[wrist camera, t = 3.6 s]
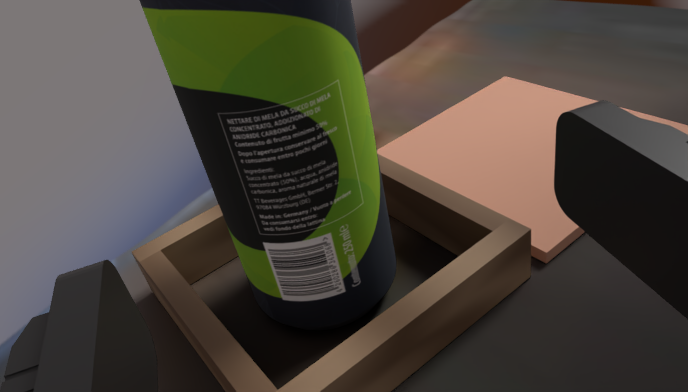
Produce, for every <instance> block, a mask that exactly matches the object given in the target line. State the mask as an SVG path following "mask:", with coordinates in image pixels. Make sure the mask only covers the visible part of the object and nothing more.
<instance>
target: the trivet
mask: <svg viewBox="0 0 688 392" xmlns="http://www.w3.org/2000/svg"><path fill="white" fill-rule="evenodd" d="M595 102H598V101H595V100H591V99H588V98H584V97H580V96H577V95H573V94H569V93H565V92H562V91H558V90H554V89H551V88H547V87H543V86H539V85H536V84H532V83H528V82H525V81H521V80H517V79H514V78H510V77H506V76H505V77H503V78H501V79H499V80H498V81H496V82H494V83H493V84H491V85H489V86H487V87H486V88H484V89H482V90H480V91H479V92H477V93H475V94H474V95H472V96H470V97H468V98H467V99H465V100H463V101H461V102H460V103H458V104H456V105H454V106H453V107H451V108H449V109H448V110H446V111H444V112H442V113H441V114H439V115H437V116H435V117H434V118H432V119H430V120H428V121H427V122H425V123H423V124H422V125H420V126H418V127H416V128H415V129H413V130H411V131H409V132H408V133H406V134H404V135H402V136H401V137H399V138H397V139H396V140H394V141H392V142H390V143H389V144H387V145H385V146H383V147H382V148H380V149H378V150H377V154H379V155H381V156H383V157H385V158H387V159H389V160H392V161H394V162H396V163H398V164H400V165H402V166H404V167H406V168H408V169H410V170H412V171H414V172H416V173H418V174H420V175H422V176H424V177H426V178H428V179H430V180H432V181H434V182H436V183H438V184H440V185H443V186H445V187H447V188H449V189H451V190H453V191H455V192H457V193H459V194H461V195H463V196H465V197H467V198H469V199H471V200H473V201H475V202H477V203H479V204H481V205H483V206H485V207H487V208H489V209H492V210H494V211H496V212H498V213H500V214H502V215H504V216H506V217H508V218H510V219H512V220H514V221H516V222H518V223H520V224H522V225H524V226H526V227H528V228H530V229H531V256H533V257H535V258H537V259H539V260H541V261H542V262H544V263H546V264H547V263H548V262H549V261H550V260H551V259H553V258H554V257H555V256H556V255H557V254H559V253H560V252H561V251H562V250H564V249H565V248H566V247H567V246H568V245H570V244H571V243H572V242H573V241H574V240H576V239H577V238H578V237H579V236H581V235H582V234H583V233H584V232H585V231H584V230H582V229H581V228H580V227H579V226H578V225H577V224H575V223H574V222H573V221H572V220H571V219H569V218H568V217H567V216H566V215H565V213H564V212H563V211H562V209H561V207H560V206H559V204H558V201H557V199H556V195H555V191H554V169H555V142H556V124H557V120H558V118H559V116H560V115H561V114H562V113H564V112H567V111H570V110H573V109H576V108H579V107H582V106H585V105H589V104H592V103H595ZM620 108H621V107H620ZM622 109H624V110H626V111H628V112H630V113H631V114H633V115H635V116H637V117H639V118H643V119H646V120H650V121H654V122H658V123H662V124H666V125H670V126H672V127H674V128H676V129H678V130H680V131H682V132H684V133H686V134H688V125H684V124H680V123H677V122H673V121H669V120H666V119H662V118H658V117H654V116H651V115H647V114H643V113H640V112H636V111H632V110H629V109H625V108H622Z"/></svg>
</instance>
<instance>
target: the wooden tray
mask: <svg viewBox="0 0 688 392" xmlns="http://www.w3.org/2000/svg"><path fill="white" fill-rule="evenodd" d="M378 159H379V165H380V171H381V177H382V182H383V188H384V194H385V199H386V205H387V211H388V214H389V215H390V216H392V217H394V218H395V219H397V220H399V221H400V222H402V223H404V224H405V225H407V226H409V227H410V228H412V229H414V230H415V231H417V232H419V233H420V234H422V235H424V236H426V237H427V238H429V239H431V240H432V241H434V242H436V243H437V244H439V245H441V246H442V247H444V248H446V249H447V250H449V251H451V252H452V253H454V254H456V255H457V256H459V257H457V258H456V259H455V260H453V261H452V262H451V263H449V264H448V265H446V266H445V267H444V268H442V269H441V270H440V271H438V272H437V273H436V274H434V275H433V276H432V277H430V278H429V279H428V280H426V281H425V282H423V283H422V284H421V285H419V286H418V287H417V288H415V289H414V290H413V291H411V292H410V293H409V294H407V295H406V296H405V297H403V298H402V299H400V300H399V301H398V302H396V303H395V304H394V305H392V306H391V307H390V308H388V309H387V310H386V311H384V312H383V313H382V314H380V315H379V316H377V317H376V318H375V319H373V320H372V321H371V322H369V323H368V324H367V325H365V326H364V327H363V328H361V329H360V330H359V331H357V332H356V333H354V334H353V335H352V336H350V337H349V338H348V339H346V340H345V341H344V342H342V343H341V344H340V345H338V346H337V347H336V348H334V349H333V350H331V351H330V352H329V353H327V354H326V355H325V356H323V357H322V358H321V359H319V360H318V361H317V362H315V363H314V364H313V365H311V366H310V367H308V368H307V369H306V370H304V371H303V372H302V373H300V374H299V375H298V376H296V377H295V378H294V379H292V380H291V381H290V382H288V383H287V384H285V385H284V386H283V387H281V388H280V389H279V390H277V388H276V387H275V386H274V385H273V384H272V382H271V381H270V380H269V379H268V378H267V377H266V375H265V374H264V373H263V372H262V371H261V369H260V368H259V367H258V366H257V365H256V363H255V362H254V361H253V360H252V359H251V358H250V356H249V355H248V354H247V353H246V352H245V350H244V349H243V348H242V347H241V346H240V344H239V343H238V342H237V341H236V340H235V338H234V337H233V336H232V335H231V334H230V333H229V331H228V330H227V329H226V328H225V327H224V325H223V324H222V323H221V322H220V321H219V319H218V318H217V317H216V316H215V315H214V313H213V312H212V311H211V310H210V309H209V308H208V306H207V305H206V304H205V303H204V302H203V300H202V299H201V298H200V297H199V296H198V294H197V293H196V292H195V291H194V290H193V288H192V287H191V286H190V284H192V283H194V282H195V281H197V280H199V279H200V278H202V277H204V276H205V275H207V274H209V273H210V272H212V271H214V270H215V269H217V268H219V267H220V266H222V265H224V264H225V263H227V262H229V261H230V260H232V259H234V258H235V257H237V256H239V255H238V253H237V250H236V248H235V245H234V242H233V240H232V237H231V235H230V232H229V230H228V227H227V224H226V222H225V219H224V217H223V214H222V211H221V209H220V206H219V204H218V205H216V206H215V207H213V208H211V209H209V210H207V211H205V212H204V213H202V214H200V215H198V216H196V217H194V218H193V219H191V220H189V221H187V222H185V223H183V224H182V225H180V226H178V227H176V228H174V229H172V230H171V231H169V232H167V233H165V234H163V235H161V236H160V237H158V238H156V239H154V240H152V241H150V242H149V243H147V244H145V245H143V246H141V247H139V248H138V249H136V250H134V251H132V254H133V256H134V258H135V259H136V261H137V263H138V265H139V267H140V269H141V271H142V273H143V275H144V276H145V278H146V280H147V282H148V284H149V286H150V288H151V290H152V291H153V293H154V294H155V296H156V297H157V298H158V300H159V301H160V302H161V304H162V305H163V307H164V308H165V309H166V311H167V312H168V313H169V315H170V316H171V318H172V319H173V320H174V322H175V323H176V324H177V326H178V327H179V328H180V330H181V331H182V333H183V334H184V335H185V337H186V338H187V339H188V341H189V342H190V344H191V345H192V346H193V348H194V349H195V350H196V352H197V353H198V355H199V356H200V357H201V359H202V360H203V361H204V363H205V364H206V365H207V367H208V368H209V370H210V371H211V372H212V374H213V375H214V376H215V378H216V379H217V381H218V382H219V383H220V385H221V386H222V387H223V389H224V390H225V391H226V392H391V391H392V390H393V389H395V388H396V387H397V386H398V385H400V384H401V383H402V382H403V381H404V380H406V379H407V378H408V377H409V376H410V375H412V374H413V373H414V372H415V371H417V370H418V369H419V368H420V367H421V366H423V365H424V364H425V363H426V362H427V361H429V360H430V359H431V358H432V357H434V356H435V355H436V354H437V353H438V352H440V351H441V350H442V349H443V348H444V347H446V346H447V345H448V344H449V343H451V342H452V341H453V340H454V339H455V338H457V337H458V336H459V335H460V334H461V333H463V332H464V331H465V330H466V329H468V328H469V327H470V326H471V325H472V324H474V323H475V322H476V321H477V320H478V319H480V318H481V317H482V316H483V315H485V314H486V313H487V312H488V311H489V310H491V309H492V308H493V307H494V306H496V305H497V304H498V303H499V302H500V301H502V300H503V299H504V298H505V297H506V296H508V295H509V294H510V293H511V292H513V291H514V290H515V289H516V288H517V287H519V286H520V285H521V284H522V283H523V282H525V281H526V280H527V279H528V278H530V277H531V229H530V228H528V227H526V226H524V225H522V224H520V223H518V222H516V221H514V220H512V219H510V218H508V217H506V216H504V215H502V214H500V213H498V212H496V211H494V210H492V209H489V208H487V207H485V206H483V205H481V204H479V203H477V202H475V201H473V200H471V199H469V198H467V197H465V196H463V195H461V194H459V193H457V192H455V191H453V190H451V189H449V188H447V187H445V186H443V185H440V184H438V183H436V182H434V181H432V180H430V179H428V178H426V177H424V176H422V175H420V174H418V173H416V172H414V171H412V170H410V169H408V168H406V167H404V166H402V165H400V164H398V163H396V162H394V161H392V160H389V159H387V158H385V157H383V156H381V155H379V154H378Z"/></svg>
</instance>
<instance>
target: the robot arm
mask: <svg viewBox="0 0 688 392" xmlns="http://www.w3.org/2000/svg"><path fill="white" fill-rule="evenodd" d="M554 191H555V195H556V199H557V201H558V204H559V206H560V207H561V209H562V211H563V212H564V213H565V215H566V216H567V217H568V218H569V219H571V220H572V221H573V222H574V223H575V224H577V225H578V226H579V227H580V228H581V229H582V230H584V231H585V232H586V233H587V234H588V235H589V236H591V237H592V238H593V239H594V240H595V241H596V242H598V243H599V244H600V245H601V246H602V247H604V248H605V249H606V250H607V251H608V252H609V253H611V254H612V255H613V256H614V257H615V258H616V259H618V260H619V261H620V262H621V263H622V264H623V265H625V266H626V267H627V268H628V269H629V270H631V271H632V272H633V273H634V274H635V275H636V276H638V277H639V278H640V279H641V280H642V281H643V282H645V283H646V284H647V285H648V286H649V287H651V288H652V289H653V290H654V291H655V292H656V293H658V294H659V295H660V296H661V297H662V298H663V299H665V300H666V301H667V302H668V303H669V304H670V305H672V306H673V307H674V308H675V309H676V310H678V311H679V312H680V313H681V314H682V315H683V316H685V317H686V318H687V319H688V134H686V133H684V132H682V131H680V130H678V129H676V128H674V127H672V126H670V125H666V124H662V123H658V122H654V121H650V120H646V119H643V118H639V117H637V116H635V115H633V114H631V113H630V112H628V111H626V110H624V109H622V108H620V107H618V106H616V105H614V104H613V103H611V102H608V101H604V100H602V101H598V102H595V103H592V104H589V105H585V106H582V107H579V108H576V109H573V110H570V111H567V112H564V113H562V114H561V115H560V116H559V118H558V120H557V124H556V142H555V169H554ZM4 377H5V382H2V386H1V390H0V392H158V377H157V357H156V351H155V347H154V343H153V340H152V337H151V334H150V331H149V329H148V327H147V325H146V323H145V321H144V319H143V317H142V315H141V314H140V312H139V310H138V308H137V306H136V304H135V302H134V301H133V299H132V297H131V295H130V293H129V291H128V290H127V288H126V286H125V284H124V282H123V280H122V279H121V277H120V275H119V273H118V271H117V270H116V268H115V266H114V265H113V264H112V263H111V262H110V261H109V260H104V261H101V262H98V263H95V264H92V265H89V266H86V267H83V268H80V269H77V270H73V271H70V272H67V273H65V274H61V275H59V276H58V277H57V279H56V282H55V287H54V291H53V296H52V301H51V306H50V311H49V312H48V313H45V314H42V315H39V316H36V317H33V318H32V319H31V320H30V322H29V323H28V325H27V326H26V328H25V329H24V330H23V332H22V333H21V335H20V336H19V338H18V339H17V340H16V342H15V343H14V345H13V346H12V348H11V352H10V356H9V359H8V363H7V367H6V371H5V375H4Z"/></svg>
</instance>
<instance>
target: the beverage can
mask: <svg viewBox="0 0 688 392" xmlns="http://www.w3.org/2000/svg"><path fill="white" fill-rule="evenodd" d="M140 2H141V5H142V8H143V11H144V13H145V15H146V18H147V21H148V23H149V26H150V28H151V31H152V34H153V36H154V39H155V41H156V44H157V46H158V49H159V52H160V54H161V57H162V60H163V62H164V64H165V67H166V70H167V72H168V75H169V77H170V80H171V83H172V85H173V88H174V90H175V93H176V95H177V98H178V101H179V103H180V106H181V108H182V111H183V113H184V116H185V119H186V121H187V124H188V126H189V129H190V132H191V134H192V137H193V139H194V142H195V145H196V147H197V149H198V152H199V154H200V157H201V160H202V163H203V165H204V168H205V170H206V173H207V175H208V178H209V180H210V183H211V185H212V188H213V191H214V193H215V196H216V199H217V201H218V204H219V206H220V209H221V211H222V214H223V217H224V219H225V222H226V224H227V227H228V230H229V232H230V235H231V237H232V240H233V242H234V245H235V248H236V250H237V253H238V255H239V258H240V260H241V263H242V266H243V268H244V271H245V273H246V276H247V278H248V281H249V284H250V286H251V289H252V291H253V294H254V296H255V299H256V301H257V303H258V305H259V306H260V308H261V309H262V310H263V311H264V312H265V313H266V314H267V315H268V316H270V317H271V318H272V319H274V320H276V321H278V322H280V323H283V324H285V325H289V326H293V327H296V328H300V329H305V330H328V329H333V328H337V327H341V326H344V325H347V324H349V323H351V322H353V321H355V320H357V319H359V318H361V317H362V316H364V315H365V314H366V313H368V312H369V311H370V310H371V309H372V308H373V307H374V306H375V305H376V304H377V303H378V302H379V301H380V300H381V299H382V298H383V296H384V295H385V294H386V293H387V291H388V290H389V288H390V286H391V284H392V282H393V280H394V277H395V273H396V256H395V251H394V245H393V239H392V234H391V228H390V222H389V217H388V211H387V205H386V199H385V194H384V188H383V182H382V177H381V171H380V165H379V159H378V154H377V148H376V142H375V137H374V131H373V125H372V120H371V114H370V108H369V102H368V97H367V91H366V85H365V80H364V74H363V68H362V63H361V57H360V51H359V46H358V40H357V34H356V29H355V23H354V17H353V11H352V6H351V0H140Z"/></svg>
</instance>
